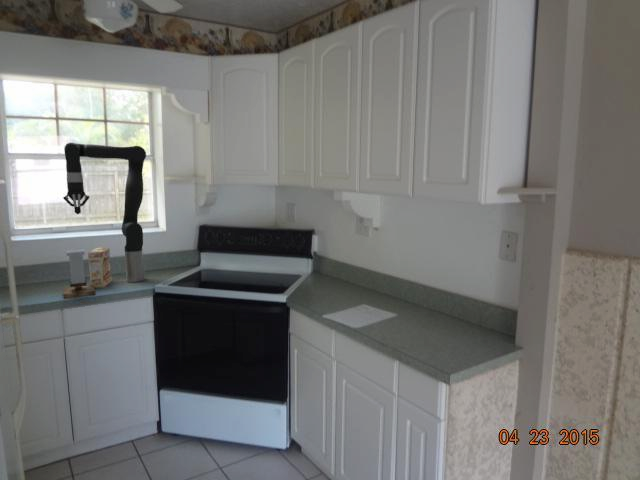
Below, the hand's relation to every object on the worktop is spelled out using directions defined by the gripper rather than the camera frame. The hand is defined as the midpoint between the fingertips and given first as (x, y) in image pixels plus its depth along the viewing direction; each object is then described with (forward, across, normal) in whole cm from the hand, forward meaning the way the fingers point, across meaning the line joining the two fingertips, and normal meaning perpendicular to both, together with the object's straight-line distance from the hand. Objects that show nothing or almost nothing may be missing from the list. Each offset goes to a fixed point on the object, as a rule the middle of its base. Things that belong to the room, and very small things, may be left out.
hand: (77, 213), depth 247 cm
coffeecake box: (+39, -8, +5) cm, 40 cm away
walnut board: (+39, +3, +18) cm, 43 cm away
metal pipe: (+37, +3, +18) cm, 41 cm away
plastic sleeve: (+33, +3, +18) cm, 38 cm away
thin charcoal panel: (+34, +3, +18) cm, 39 cm away
